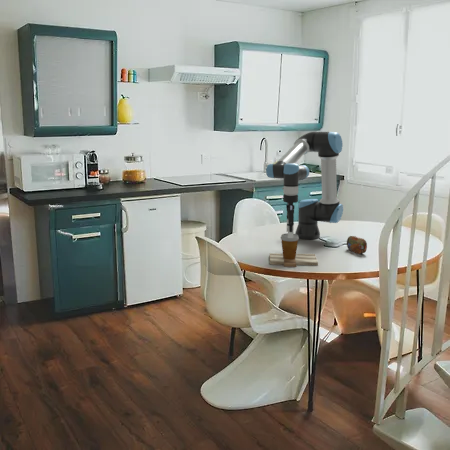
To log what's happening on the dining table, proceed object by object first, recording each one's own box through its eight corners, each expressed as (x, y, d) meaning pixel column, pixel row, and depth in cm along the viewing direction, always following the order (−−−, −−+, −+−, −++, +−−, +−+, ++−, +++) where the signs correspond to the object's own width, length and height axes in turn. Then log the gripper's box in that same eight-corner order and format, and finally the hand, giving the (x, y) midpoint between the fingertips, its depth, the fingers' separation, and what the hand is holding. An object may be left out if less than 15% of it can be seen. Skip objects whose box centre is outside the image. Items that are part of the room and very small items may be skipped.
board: (269, 254, 295) (269, 251, 294) (314, 255, 293) (314, 252, 293) (270, 266, 273) (270, 263, 273) (318, 267, 272) (318, 264, 271)
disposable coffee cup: (296, 255, 288) (297, 233, 285) (299, 260, 279) (300, 237, 276) (279, 255, 288) (279, 233, 285) (281, 260, 278) (281, 237, 276)
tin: (345, 249, 306) (346, 234, 304) (350, 248, 307) (351, 233, 305) (362, 255, 292) (363, 240, 290) (367, 255, 293) (368, 239, 291)
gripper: (282, 190, 288) (281, 229, 293) (284, 198, 264) (283, 240, 268) (296, 190, 288) (295, 229, 292) (299, 198, 263) (298, 240, 268)
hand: (289, 234), depth 280 cm, fingers open, 13 cm apart
